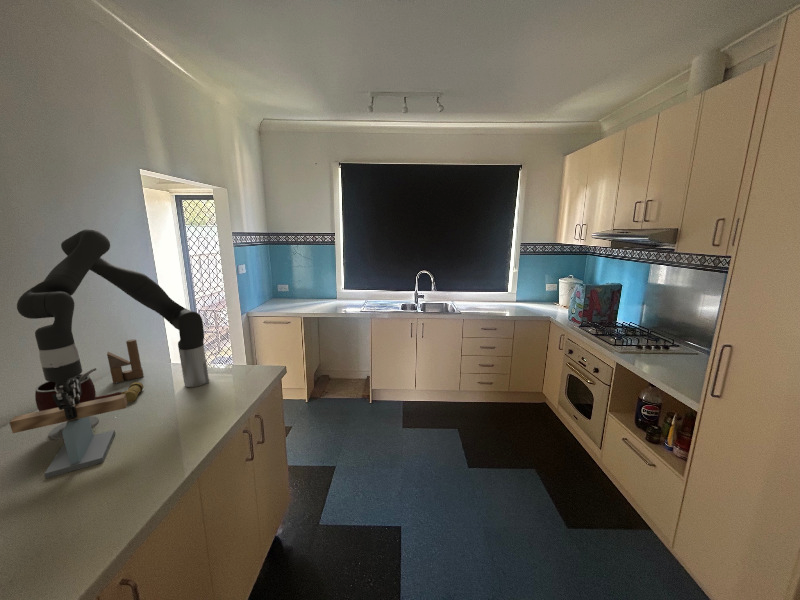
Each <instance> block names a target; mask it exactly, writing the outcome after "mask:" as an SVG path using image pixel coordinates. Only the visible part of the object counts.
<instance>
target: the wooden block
mask: <svg viewBox="0 0 800 600" xmlns="http://www.w3.org/2000/svg"><path fill="white" fill-rule="evenodd" d="M125 343H126V348H127V353H128V358H129V360H127V359H125V358H123V357H121V356H119V355H116V354H114V353H112V352H110V351H107V352H106V353H107V354H106V355H107V356H106V357H107V360H108V365H109V369H110V374H111V378H112V383H113V384H117V383H116V382H118V383H122V382H124V379H125V380H127V381H129V380H130V379H131V380H135V379H139V378H143V377H144V370H143V367H142V363H141V358H140V353H139V348H138V347H139V346H138V343H137V339H135V338H134V339H133V338H132V339H128V340H126V342H125ZM124 366H130V369H128V370H125V371H124V370H123V369H122V367H124ZM121 381H122V382H121Z"/></svg>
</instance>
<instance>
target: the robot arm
mask: <svg viewBox="0 0 800 600" xmlns="http://www.w3.org/2000/svg"><path fill="white" fill-rule="evenodd" d="M60 247H61V250H62V252H63V253H64V254H65V255H66V257H65V258H64V259H62V260H61V261H60V262H59V263H58V264H56V266H55V267H53V268H52V269H51V271H50V272H49V273H48V274H47V276H46V277H45V279H44V280H43V281H41V282H39V283H37V284H36V285H35V286H32V287H31V288H30V289H28V290H26V291H25V292H24V293H23V294H21V296H19V298H18V300H17V304H16V310H17V311H18V314H19V315H20V316H22V317H24V318H27V319H30V320H31V319H32V320H34V319H35V320H36V319H46V318H47V319H49V318H50V319H51V318H54V320H53V323H52V324H48V325H44V326H41V327H38V328H36V330H35V331H34V336H35V340H36V344H37V348H38V353H39V355H38V356H39V360H40V364H41V368H42V372H43V377H44V380H45V382H47V381H49V382H55V383H56V386H55V392H57V394H53V396H52V397H53V399H54V401H55V403H56V404H57V406H58V408H59V410H62V409H64V411H65V415H66V419H67V420H71V419H75V418H77V412H76V407H75V404H78V403H80V402H79V400H80V396H79V395H81V394H82V393H81V383H80V376H78V375H80V374H83V368H82V367H83V366H82V363H81V359H80V355H79V354H80V353H79V351H78V348H77V346H76V344H75V340H74V339H75V338H74V335H73V330H72V329H73V328H72V327H73V318H74V317H73V316H74V312H75V301H74V298H73V297H72V296H73V295H74V294H75V293H76V290H78V288H79V286H80V285H81V283H82V282H83V280H84V278H85V276H87V274H88V272H89V271H91V272H92V273H95V274H96V275H98V276H100V277H101V278H103V279H105V280H107V281H108V282H109V283H110V284H112V285H114V286H115V287H117V288H118V289H120V290H121V292H124V293H125V295H126V294H127V295H128V296H130V297H131V298H132V299H133V300H135V301H136V302H138V303H140V304H141V305H142V306H144V307H146V308H148V309H150V310H151V311H154V312H155V313H157V314H159V315H160V316H161V317H162V318H163V319H165V320H166V321H167V322H168V323H169V324H170V325H172V327H174V328H175V329H177V330H178V333H179V341H178V342H177V347H178V353H179V360H180V366H181V372H182V377H183V383H184V387H185V388H196V387H201V386H203V385H206V384H209V383H210V380H209V379H210V376H209V370H208V364H207V359H206V353H205V346H204V344H205V343H204V340H205V330H204V329H205V328H204V322H203V319H202V316H201V315H200V314H199V313H198V312H196V311H194V310H190V309H187V308H185V307H184V306H182V305H180V304H179V303H178V302H176V301H175V300H173V299H172V298H171V297H170V296H169V295H168V294H167V293H166V291H165V290H164V288H162V287H161V286H160V285H159V284H158V283H157V282H156V281H154V280H153V279H151V277H149V276H148V275H146V274H144V273H142V272H141V271H138V270H135V269H134V270H133V269H130V268H125V267H121V266H118V265H115V264H113V263H111V262H108V261H106V260H105V259H104V258H102V257H103V255H105V254H106V253H107V252H108V251H109V250H110V248H111V241H110V240H109V238H108V237H107V236H106V235H105V234H104V233H102V231H100V230H96V229H93V228H86V229H82V230H80V231H77V232H76V233H75V234H73V235H71V236H70V237H68V238H66V239H65V240H63V241H62V242H61V244H60ZM65 403H67V404H65Z"/></svg>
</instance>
